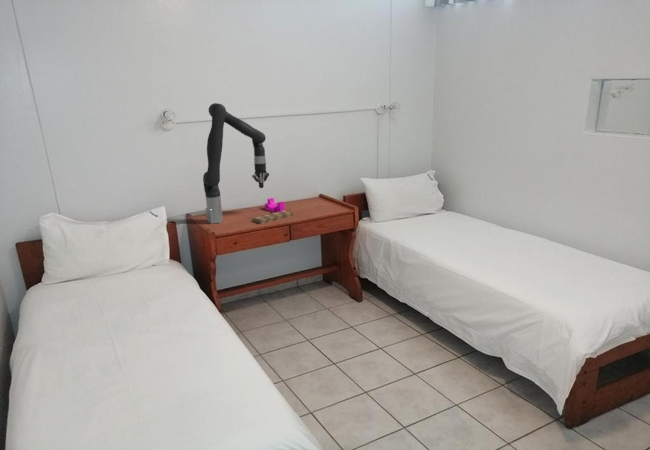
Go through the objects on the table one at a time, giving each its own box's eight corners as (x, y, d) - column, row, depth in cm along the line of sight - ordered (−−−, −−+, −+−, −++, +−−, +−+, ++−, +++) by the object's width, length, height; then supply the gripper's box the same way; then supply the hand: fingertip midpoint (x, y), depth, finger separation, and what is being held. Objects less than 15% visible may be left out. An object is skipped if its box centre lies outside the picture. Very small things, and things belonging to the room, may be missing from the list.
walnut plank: (260, 224, 299) (260, 220, 298) (252, 221, 305) (252, 217, 304) (292, 215, 315) (292, 212, 314) (284, 213, 321) (284, 210, 321)
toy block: (265, 209, 331) (264, 199, 329) (272, 208, 335) (271, 198, 333) (277, 214, 320) (276, 203, 318) (284, 212, 324) (284, 201, 322)
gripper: (254, 164, 302) (256, 190, 308) (271, 161, 311) (272, 187, 316) (248, 162, 308) (249, 188, 313) (265, 160, 316) (266, 185, 321)
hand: (261, 187), depth 314 cm, fingers closed
